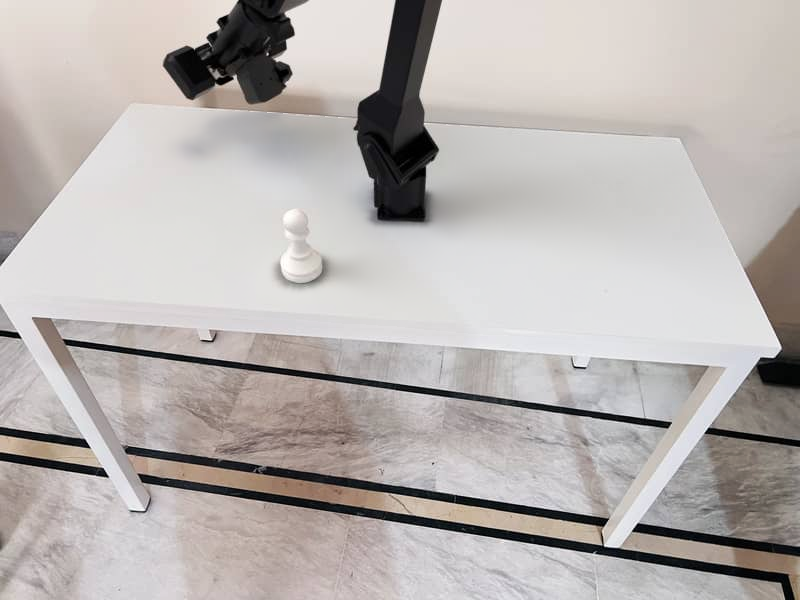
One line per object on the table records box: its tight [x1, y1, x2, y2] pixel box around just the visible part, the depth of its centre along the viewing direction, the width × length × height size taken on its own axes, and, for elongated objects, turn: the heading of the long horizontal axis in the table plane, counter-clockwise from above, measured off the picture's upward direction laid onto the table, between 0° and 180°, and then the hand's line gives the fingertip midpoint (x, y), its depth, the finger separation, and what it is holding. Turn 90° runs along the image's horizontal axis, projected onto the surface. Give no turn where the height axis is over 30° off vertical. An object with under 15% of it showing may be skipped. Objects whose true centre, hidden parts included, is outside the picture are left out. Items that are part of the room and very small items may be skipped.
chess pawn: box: [280, 208, 324, 284], centre depth 72 cm, size 5×5×9 cm
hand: (209, 80), depth 93 cm, fingers closed
